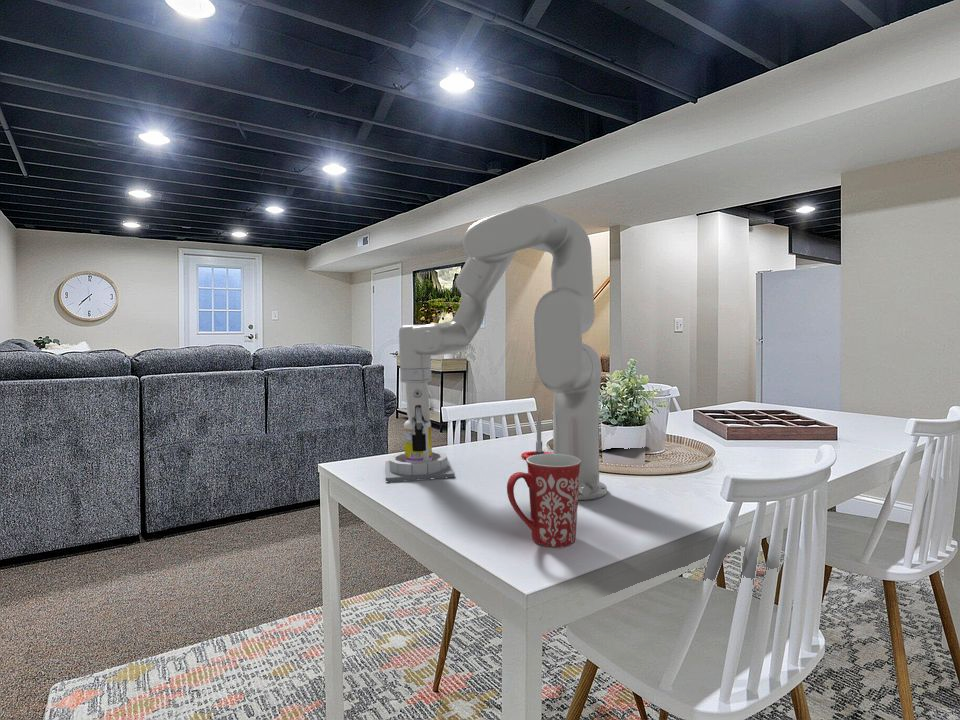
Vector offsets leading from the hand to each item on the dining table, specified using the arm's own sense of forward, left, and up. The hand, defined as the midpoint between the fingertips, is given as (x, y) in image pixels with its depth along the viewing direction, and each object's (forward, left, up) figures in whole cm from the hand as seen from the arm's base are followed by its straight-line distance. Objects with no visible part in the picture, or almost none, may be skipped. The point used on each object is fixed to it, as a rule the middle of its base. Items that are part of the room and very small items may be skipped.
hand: (418, 447), depth 138 cm
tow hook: (+6, -32, -6) cm, 33 cm away
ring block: (0, 0, -6) cm, 6 cm away
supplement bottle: (0, 0, -4) cm, 4 cm away
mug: (-49, -18, -6) cm, 52 cm away
